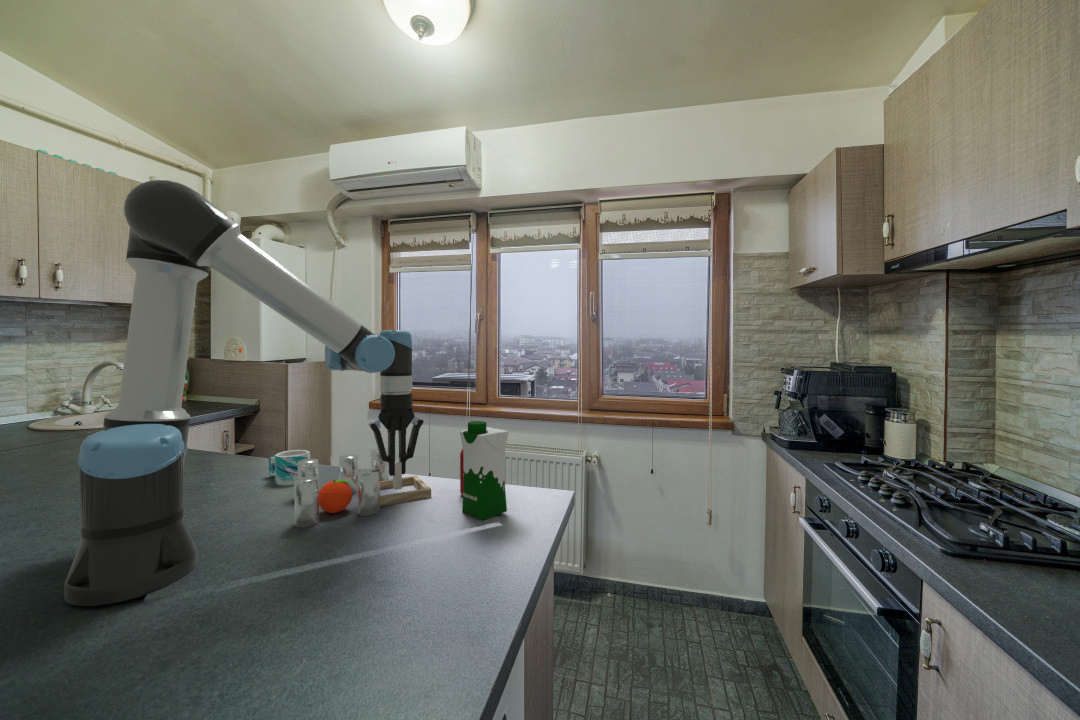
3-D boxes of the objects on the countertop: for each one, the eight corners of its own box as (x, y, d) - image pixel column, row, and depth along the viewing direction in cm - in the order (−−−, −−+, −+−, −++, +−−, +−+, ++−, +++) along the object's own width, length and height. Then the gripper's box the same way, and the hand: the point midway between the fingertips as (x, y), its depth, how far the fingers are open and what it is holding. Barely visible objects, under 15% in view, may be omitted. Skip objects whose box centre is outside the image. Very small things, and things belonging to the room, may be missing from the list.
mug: (287, 490, 109) (287, 457, 109) (258, 484, 114) (258, 453, 114) (316, 481, 116) (316, 451, 116) (288, 476, 122) (287, 446, 122)
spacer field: (409, 508, 97) (409, 468, 96) (295, 529, 85) (294, 484, 85) (386, 480, 118) (386, 447, 117) (292, 494, 106) (292, 458, 106)
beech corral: (431, 497, 104) (431, 489, 104) (373, 507, 97) (373, 498, 97) (416, 483, 115) (416, 475, 115) (364, 491, 108) (364, 483, 108)
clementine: (356, 503, 100) (355, 473, 99) (359, 513, 93) (358, 480, 93) (317, 509, 96) (316, 478, 96) (318, 520, 90) (317, 486, 89)
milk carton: (456, 512, 94) (455, 421, 94) (487, 501, 101) (487, 417, 100) (481, 523, 88) (481, 426, 88) (513, 511, 95) (513, 421, 94)
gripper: (418, 390, 112) (419, 479, 113) (365, 392, 106) (366, 488, 106) (427, 392, 106) (427, 487, 106) (371, 395, 99) (372, 496, 100)
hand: (397, 487), depth 106 cm, fingers closed
